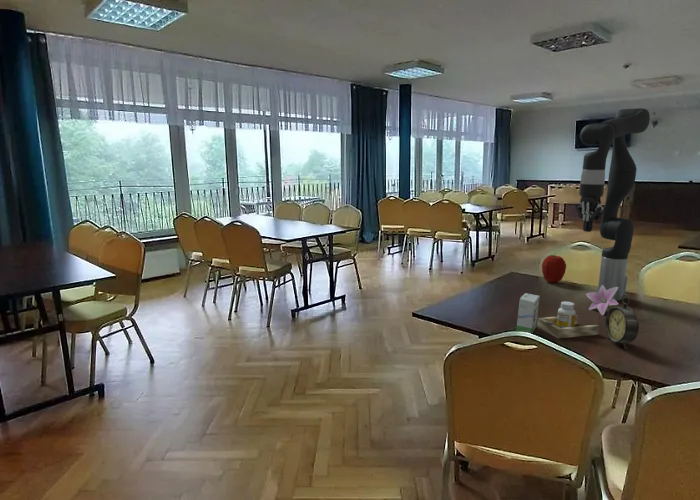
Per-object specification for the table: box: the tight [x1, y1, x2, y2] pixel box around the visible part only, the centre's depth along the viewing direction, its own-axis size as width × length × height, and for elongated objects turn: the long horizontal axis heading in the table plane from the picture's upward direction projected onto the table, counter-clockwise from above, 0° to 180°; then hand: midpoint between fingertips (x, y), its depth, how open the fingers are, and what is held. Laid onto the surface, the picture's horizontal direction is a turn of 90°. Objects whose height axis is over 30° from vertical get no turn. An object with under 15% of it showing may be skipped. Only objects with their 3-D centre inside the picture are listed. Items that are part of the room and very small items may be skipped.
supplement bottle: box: [556, 301, 577, 328], centre depth 155 cm, size 5×5×10 cm
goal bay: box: [536, 314, 600, 339], centre depth 156 cm, size 15×11×3 cm
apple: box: [541, 254, 567, 284], centre depth 214 cm, size 10×10×14 cm
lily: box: [585, 285, 619, 316], centre depth 175 cm, size 12×12×10 cm
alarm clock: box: [605, 293, 640, 351], centre depth 143 cm, size 11×5×16 cm, turn 0°
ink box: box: [515, 292, 540, 334], centre depth 155 cm, size 9×5×12 cm, turn 148°
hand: (587, 231), depth 167 cm, fingers closed
